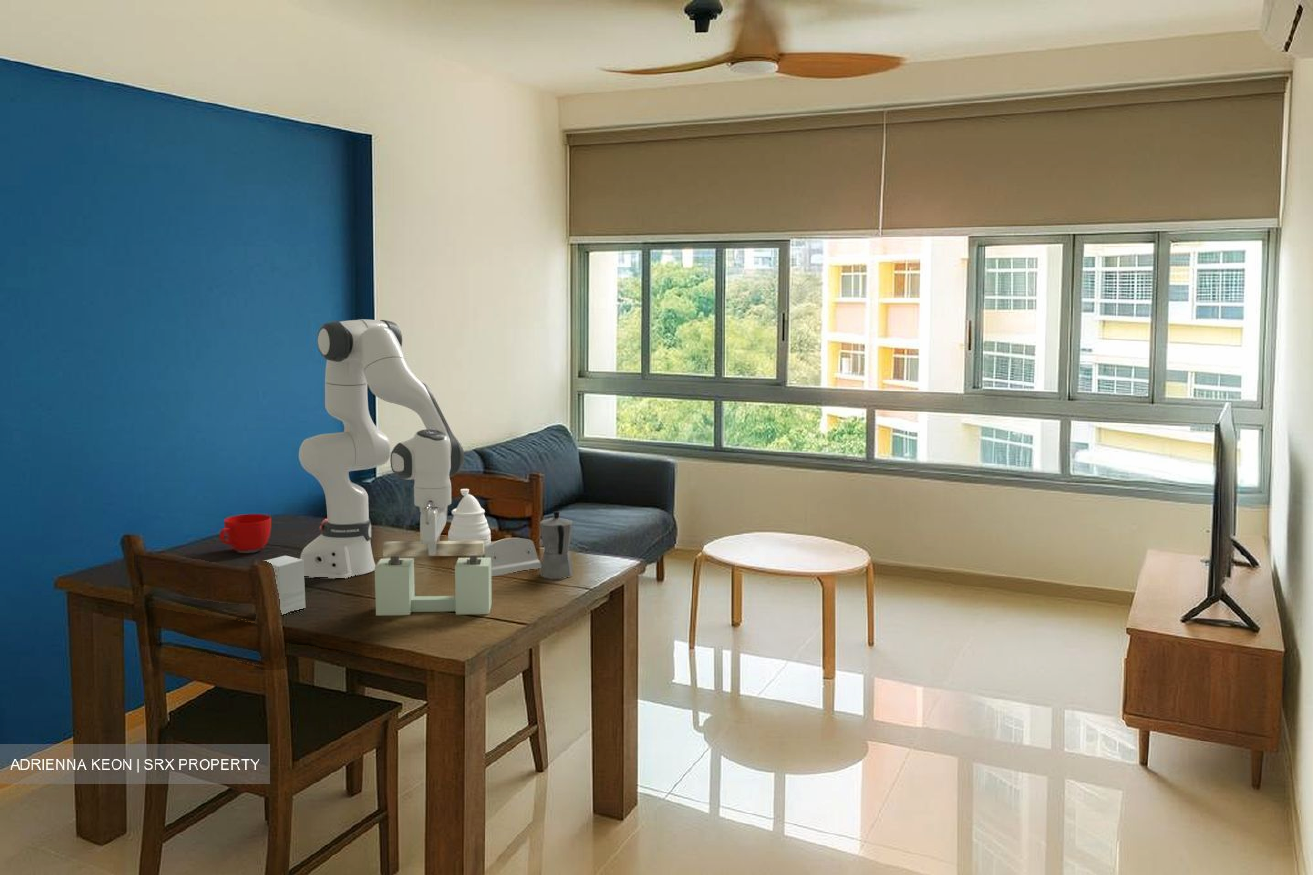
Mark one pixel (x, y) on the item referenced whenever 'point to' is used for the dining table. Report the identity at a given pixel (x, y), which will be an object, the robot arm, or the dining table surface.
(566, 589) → the dining table surface
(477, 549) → the rail
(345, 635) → the dining table surface
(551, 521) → the coffeepot
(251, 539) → the ceramic cup
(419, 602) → the posts
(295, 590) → the supplement box
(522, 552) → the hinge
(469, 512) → the honey pot
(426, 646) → the dining table surface
